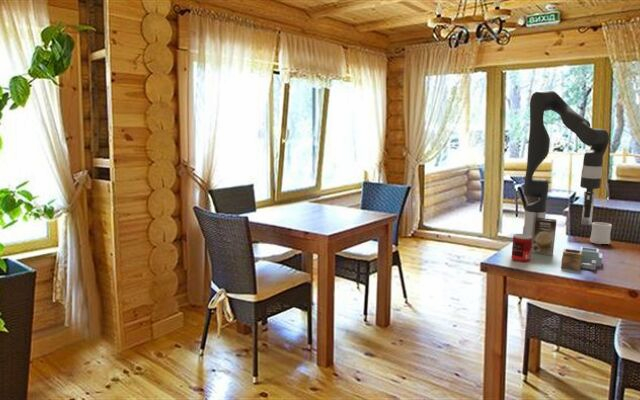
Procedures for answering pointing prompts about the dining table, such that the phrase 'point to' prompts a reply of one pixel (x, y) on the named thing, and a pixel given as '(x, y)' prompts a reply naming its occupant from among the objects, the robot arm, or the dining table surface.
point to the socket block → (571, 259)
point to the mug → (600, 233)
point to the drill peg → (589, 220)
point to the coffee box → (544, 236)
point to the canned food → (521, 247)
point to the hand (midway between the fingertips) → (587, 216)
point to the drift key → (589, 265)
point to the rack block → (591, 256)
